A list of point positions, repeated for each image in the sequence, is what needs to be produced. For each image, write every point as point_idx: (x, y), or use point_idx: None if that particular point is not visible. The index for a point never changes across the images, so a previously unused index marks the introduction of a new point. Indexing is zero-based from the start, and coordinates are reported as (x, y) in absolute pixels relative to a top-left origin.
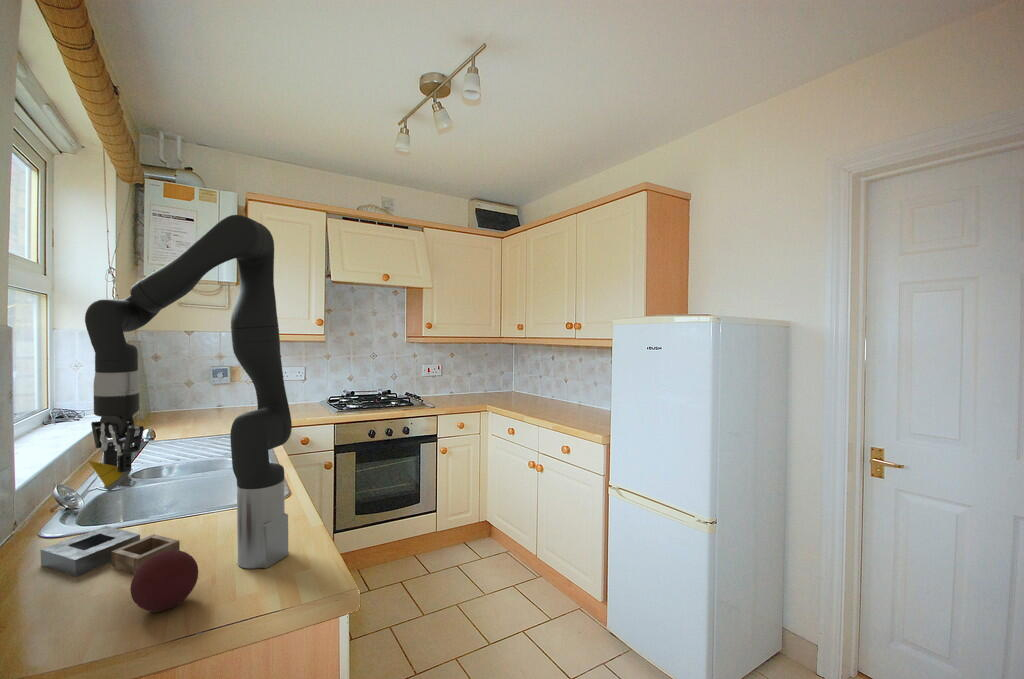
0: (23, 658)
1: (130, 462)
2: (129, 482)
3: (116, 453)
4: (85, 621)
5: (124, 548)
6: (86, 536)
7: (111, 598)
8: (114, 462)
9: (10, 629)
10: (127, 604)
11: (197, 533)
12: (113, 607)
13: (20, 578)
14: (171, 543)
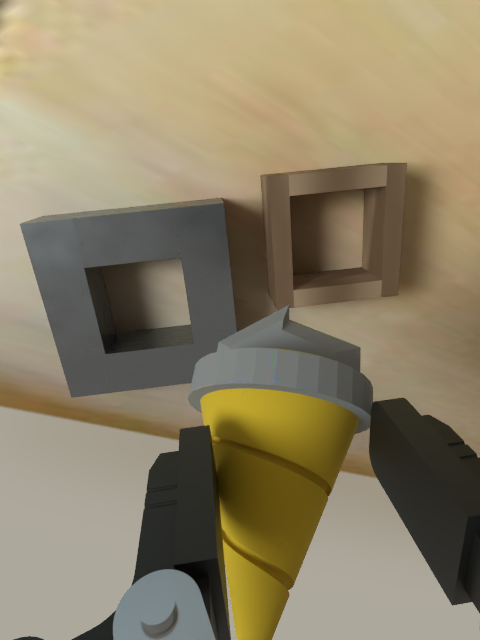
0: None
1: (472, 457)
2: (323, 339)
3: (215, 530)
4: (449, 406)
5: (291, 281)
6: (75, 299)
7: (417, 353)
8: (213, 468)
9: (346, 470)
10: (473, 348)
11: (275, 11)
12: (455, 365)
13: (126, 413)
14: (400, 189)
